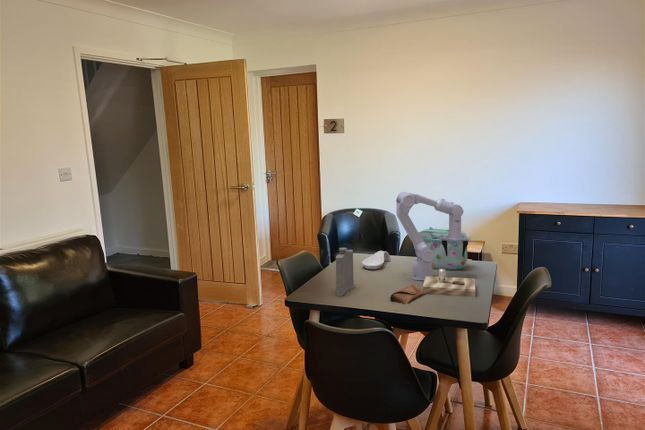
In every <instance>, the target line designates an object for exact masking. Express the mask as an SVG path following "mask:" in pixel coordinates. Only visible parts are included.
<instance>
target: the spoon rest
mask: <svg viewBox="0 0 645 430" xmlns="http://www.w3.org/2000/svg"><path fill="white" fill-rule="evenodd" d="M391 260H392V259H391V255H390V254H389V252H388V251H386V250H385V251H383V250H379V251H377V252H375V253H373V254H371V255H370V256H369V257H366V258H365V259H363V260H362V261H361V264H362V266H363V267H364V268H365V269H367V270H374V271H375V270H379V269H380V268H381V267H382V266H383V265H384V262H385V261H386V262H391Z"/></svg>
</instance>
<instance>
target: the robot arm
mask: <svg viewBox="0 0 645 430" xmlns="http://www.w3.org/2000/svg"><path fill="white" fill-rule="evenodd" d="M395 203H396V207H395V208H396V210H395V211H396V217H397V219H398V220H399V222H400V224H401V225H402V227H403V229H404V231H405V232H406V234H407V235H408V237H409V239H410V241H411V243H412V244H413V247H414V249H415V250H414V251H415V255H416V260H412V272H411V275H412V279H411V280H414V281H424V280H425V277H426V276H430V277H434V275H433V269H432V259H433V258H434V253H433V251H432V250H430V249H429V248H428V246H427V245H426V244H425V243H424V241H423V240H422V238H421V236H420V234H419V231H418V229H417V228H416V226H415V224H414V222H413V221H412V218H411V217H410V215H409V213H410V211H411V209H412V208H413V206H414V205H418V204H423V205H426V206H429V207H434V210H435V211H437V212H440V213H443V214H447V215H448V230H449V237H440V241H442V245H443V247H444V249H445V253H446V256H447V255H448V252H447V241H454V242H463V252H462V257H464V253H465V250H466V247H467V248H468V245H469V243H471V242H472V241H471V240H472V239H471V237H470V236H469V237H468V236H467V237H461V231H462V216H463V215H464V209H463V207H462V206H461V205H459V204H456V203H454V202H453V201H448V200H446V199H445V198H439V199H437V200H434V199H432V198H429V197H426V196H424V195H421V194H418V193H412V192H406V191H401V192H399V193H398V195H397V197H396V199H395ZM417 256H418V258H417Z"/></svg>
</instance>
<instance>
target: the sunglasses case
mask: <svg viewBox="0 0 645 430" xmlns="http://www.w3.org/2000/svg"><path fill="white" fill-rule="evenodd" d="M425 295H427V294H426V293H424V292H423V290H421V289H420V288H419V287H417V286H415V285H414V283H413V284H410V285H409V286H406V287H405V288H402V289H400V290H398V291H396V292H393V293H392V294H391V295H390V297H389V299H390V302H392V303H397V304H401V303H402V304H401V305H406V304H408V305H409V304H410V303H412V302H413V301H416V300H417V299H419V298H421V297H423V296H425Z"/></svg>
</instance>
